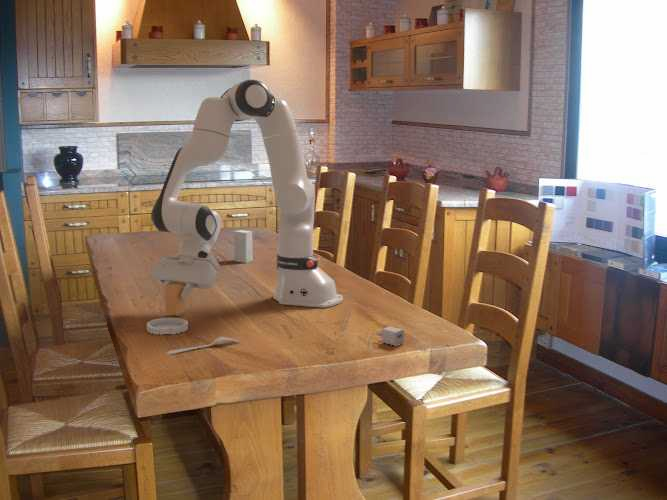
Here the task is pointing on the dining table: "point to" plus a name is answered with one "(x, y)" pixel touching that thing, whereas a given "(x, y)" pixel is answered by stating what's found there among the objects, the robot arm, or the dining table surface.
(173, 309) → the wooden toy brick
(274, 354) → the dining table surface
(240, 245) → the skincare box
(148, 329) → the ring dish
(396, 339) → the usb wall charger
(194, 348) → the fork
